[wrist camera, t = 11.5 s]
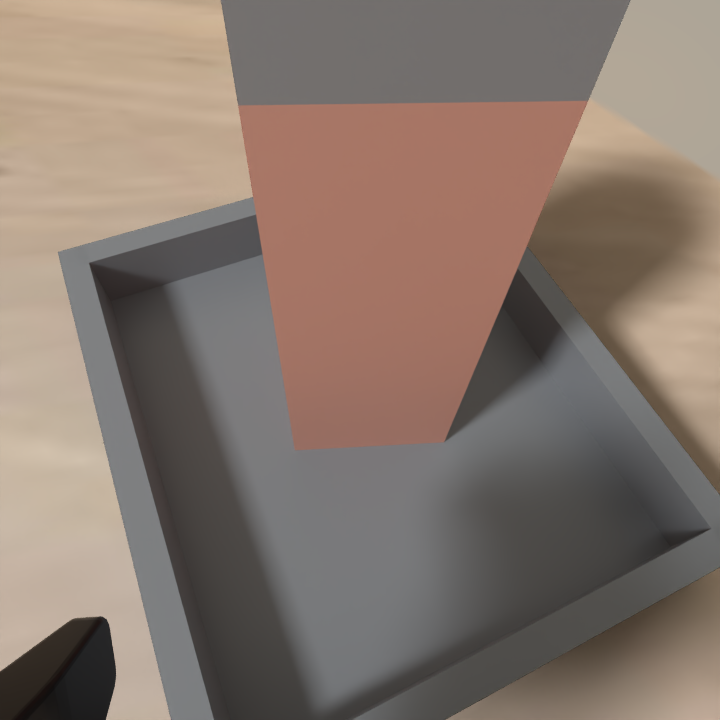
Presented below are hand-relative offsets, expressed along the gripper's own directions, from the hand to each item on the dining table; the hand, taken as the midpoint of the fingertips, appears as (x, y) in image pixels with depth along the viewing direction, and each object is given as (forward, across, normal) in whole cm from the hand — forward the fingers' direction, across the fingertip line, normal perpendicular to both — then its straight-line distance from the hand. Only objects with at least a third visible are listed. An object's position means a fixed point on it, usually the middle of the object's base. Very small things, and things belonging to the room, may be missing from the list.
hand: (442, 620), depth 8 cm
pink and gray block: (+11, 0, 0) cm, 11 cm away
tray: (+11, 0, +1) cm, 11 cm away
